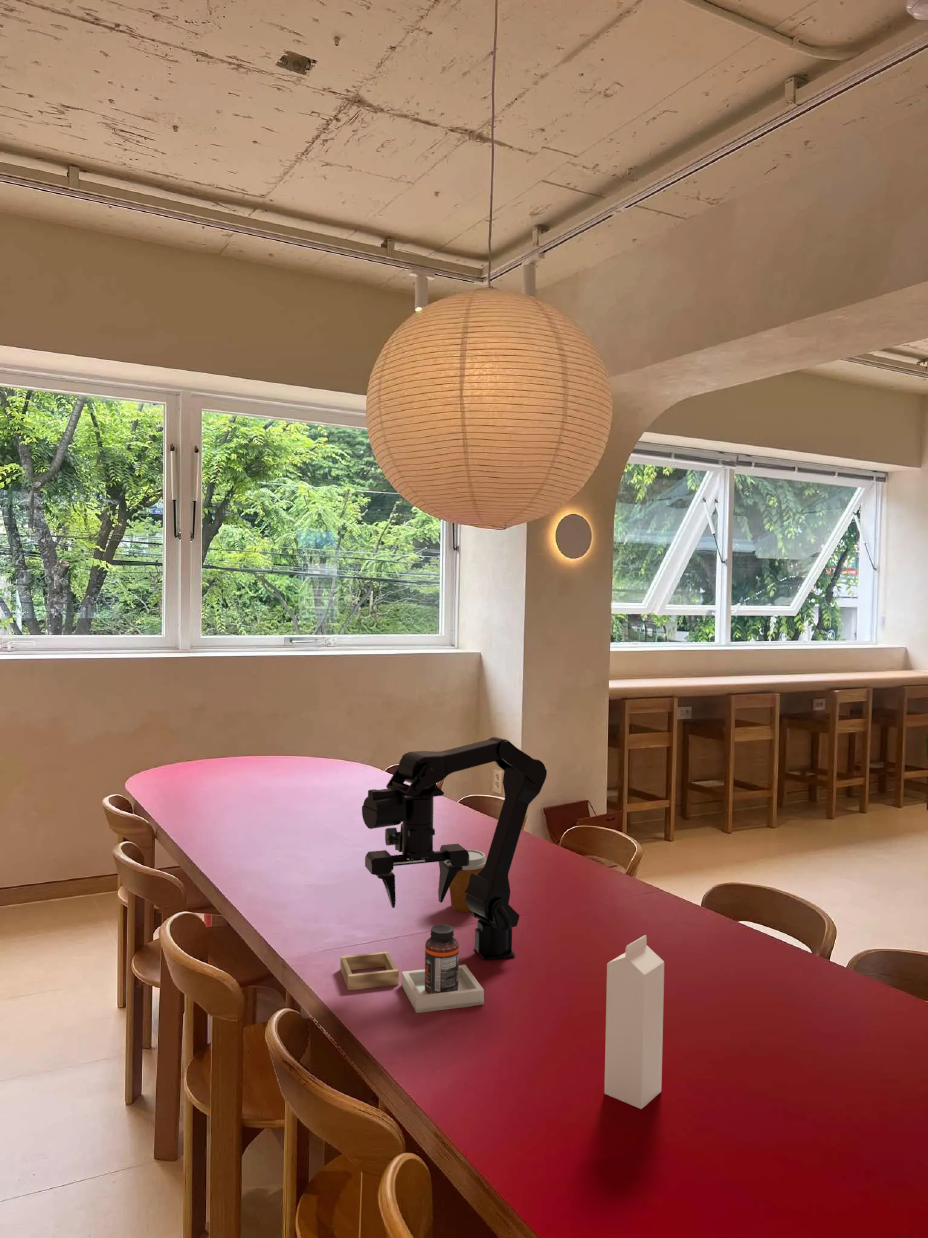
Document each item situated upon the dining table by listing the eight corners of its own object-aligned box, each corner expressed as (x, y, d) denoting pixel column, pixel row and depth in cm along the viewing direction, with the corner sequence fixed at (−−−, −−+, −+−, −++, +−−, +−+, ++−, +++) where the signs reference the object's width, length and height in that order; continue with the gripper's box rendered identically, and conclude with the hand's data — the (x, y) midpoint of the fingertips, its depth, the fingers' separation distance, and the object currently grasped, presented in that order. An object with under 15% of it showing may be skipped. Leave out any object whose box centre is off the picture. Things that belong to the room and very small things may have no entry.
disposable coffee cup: (482, 916, 196) (483, 862, 195) (440, 912, 198) (440, 859, 197) (489, 902, 205) (490, 850, 205) (449, 898, 207) (450, 847, 207)
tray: (465, 978, 164) (465, 964, 164) (483, 1004, 154) (484, 990, 154) (401, 985, 161) (401, 971, 161) (416, 1013, 150) (416, 998, 150)
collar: (387, 964, 170) (388, 951, 170) (398, 984, 161) (398, 971, 161) (340, 969, 167) (340, 956, 167) (348, 990, 158) (348, 976, 158)
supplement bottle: (421, 985, 159) (422, 923, 159) (453, 982, 161) (454, 920, 161) (428, 1000, 154) (429, 935, 153) (461, 997, 155) (462, 932, 155)
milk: (661, 1092, 128) (666, 940, 127) (641, 1110, 123) (646, 952, 122) (624, 1077, 131) (628, 929, 131) (602, 1094, 127) (607, 940, 126)
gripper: (451, 807, 176) (450, 886, 176) (358, 814, 169) (357, 896, 170) (470, 821, 165) (469, 904, 166) (372, 829, 159) (372, 916, 159)
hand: (416, 904), depth 166 cm, fingers open, 9 cm apart
